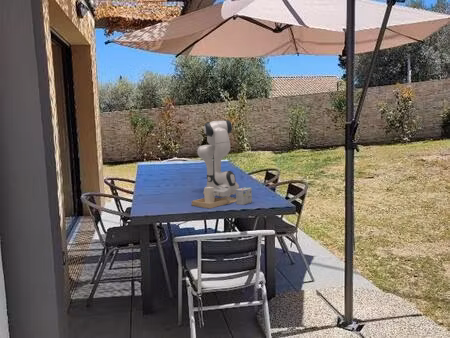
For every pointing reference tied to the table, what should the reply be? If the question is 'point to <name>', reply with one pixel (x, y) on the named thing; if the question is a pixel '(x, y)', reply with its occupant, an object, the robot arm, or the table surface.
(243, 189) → the light bulb box
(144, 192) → the table surface
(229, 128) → the robot arm
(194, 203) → the tray
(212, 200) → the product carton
